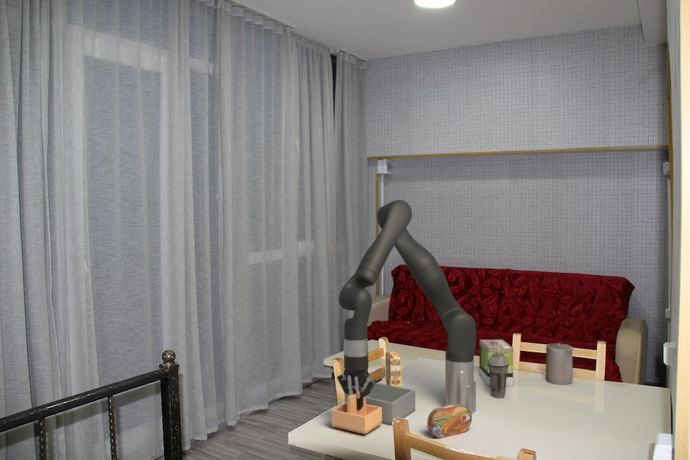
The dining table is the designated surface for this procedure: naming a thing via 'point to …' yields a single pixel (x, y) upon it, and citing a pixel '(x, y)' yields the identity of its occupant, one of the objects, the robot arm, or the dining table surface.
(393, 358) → the candy box
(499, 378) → the beverage cup
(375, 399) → the large crate
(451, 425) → the tin
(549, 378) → the pillar candle
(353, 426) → the small basket
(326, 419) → the dining table surface
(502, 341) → the tea box
